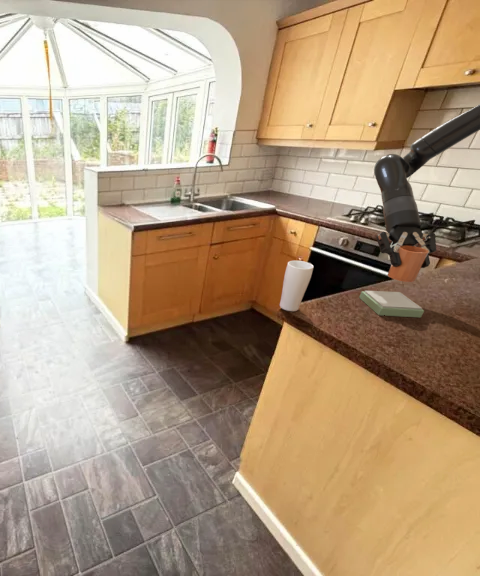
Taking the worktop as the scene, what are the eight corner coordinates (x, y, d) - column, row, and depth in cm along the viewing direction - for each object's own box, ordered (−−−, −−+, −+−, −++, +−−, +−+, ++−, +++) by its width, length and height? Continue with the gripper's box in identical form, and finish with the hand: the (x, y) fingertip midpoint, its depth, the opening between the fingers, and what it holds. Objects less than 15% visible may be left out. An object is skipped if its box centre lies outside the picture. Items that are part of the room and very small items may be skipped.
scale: (397, 299, 104) (401, 291, 103) (421, 317, 95) (426, 309, 93) (358, 297, 106) (362, 289, 105) (378, 315, 96) (382, 306, 95)
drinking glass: (278, 300, 106) (289, 258, 99) (302, 306, 103) (315, 262, 96) (274, 309, 101) (286, 266, 94) (299, 315, 98) (312, 271, 91)
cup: (405, 273, 98) (418, 245, 94) (420, 282, 92) (434, 253, 88) (382, 272, 99) (394, 245, 95) (395, 281, 94) (408, 252, 89)
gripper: (382, 208, 95) (391, 260, 90) (439, 208, 92) (452, 262, 87) (366, 220, 102) (374, 270, 97) (418, 221, 99) (429, 272, 95)
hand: (411, 266), depth 92 cm, fingers closed on cup, 6 cm apart
